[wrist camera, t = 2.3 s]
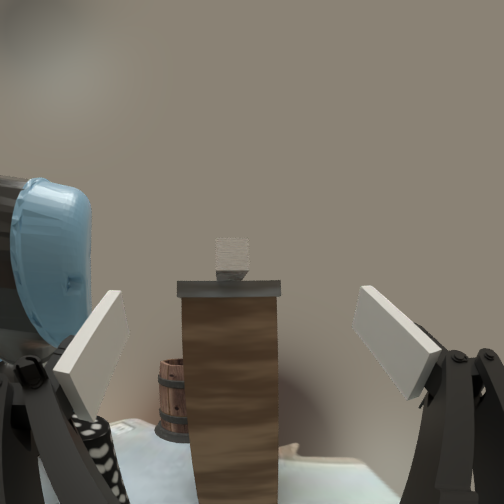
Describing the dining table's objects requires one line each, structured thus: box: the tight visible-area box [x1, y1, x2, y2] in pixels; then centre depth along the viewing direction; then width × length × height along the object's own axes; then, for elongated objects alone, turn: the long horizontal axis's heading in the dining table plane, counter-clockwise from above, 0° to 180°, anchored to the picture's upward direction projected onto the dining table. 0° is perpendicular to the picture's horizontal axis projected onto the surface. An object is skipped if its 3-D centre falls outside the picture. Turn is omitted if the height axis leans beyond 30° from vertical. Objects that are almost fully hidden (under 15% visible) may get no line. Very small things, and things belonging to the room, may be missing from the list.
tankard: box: [154, 359, 190, 443], centre depth 59 cm, size 24×17×20 cm
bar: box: [216, 238, 249, 281], centre depth 41 cm, size 32×3×3 cm, turn 7°
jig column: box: [177, 280, 281, 504], centre depth 37 cm, size 13×13×37 cm
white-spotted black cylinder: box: [71, 411, 130, 504], centre depth 18 cm, size 8×8×20 cm
